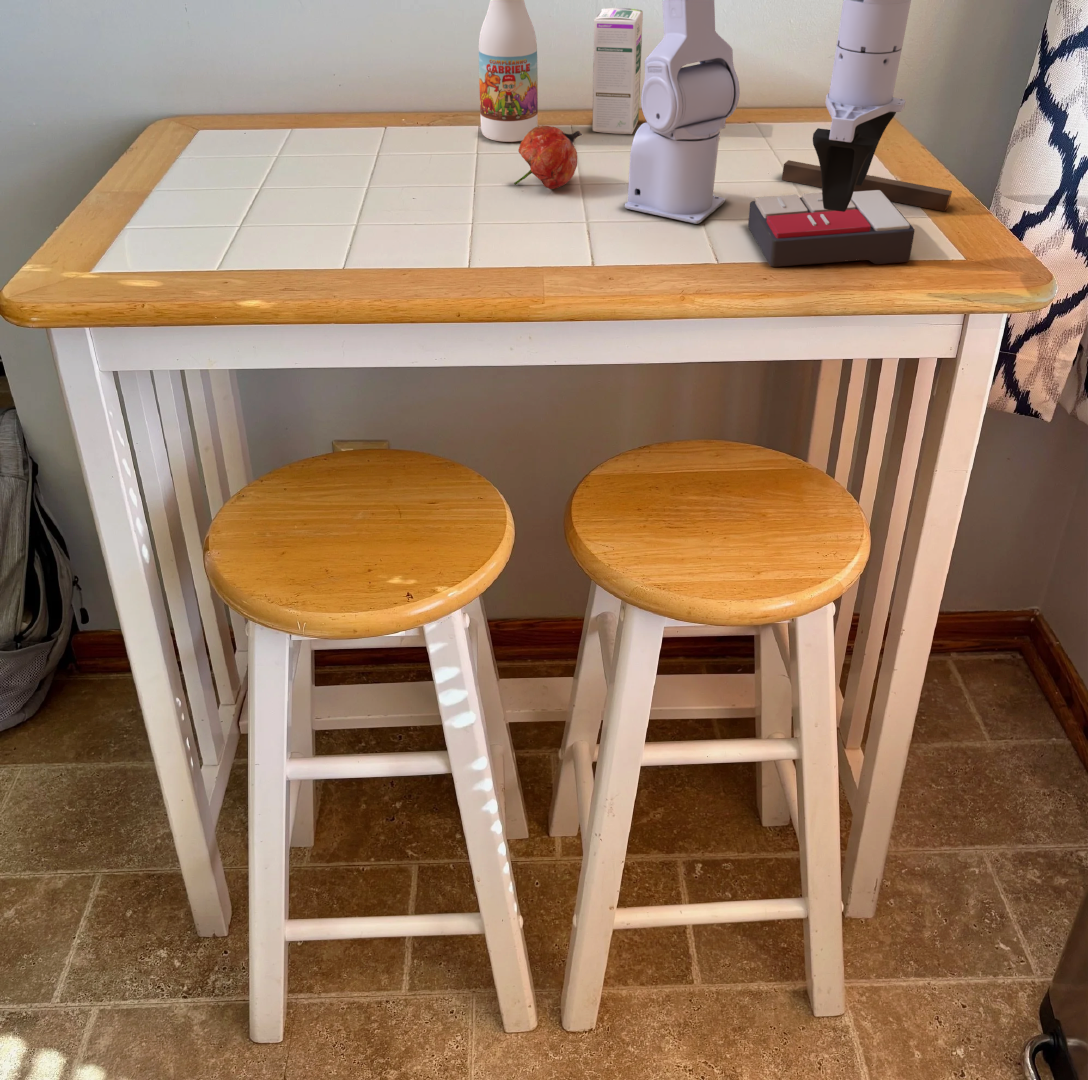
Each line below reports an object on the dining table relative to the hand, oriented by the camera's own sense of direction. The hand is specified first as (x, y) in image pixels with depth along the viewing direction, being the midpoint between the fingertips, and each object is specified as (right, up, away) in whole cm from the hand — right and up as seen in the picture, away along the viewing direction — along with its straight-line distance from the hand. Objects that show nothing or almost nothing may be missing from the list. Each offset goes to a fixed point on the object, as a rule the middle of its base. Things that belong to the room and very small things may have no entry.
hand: (843, 196), depth 102 cm
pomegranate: (-29, +9, +26) cm, 40 cm away
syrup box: (-19, +23, +43) cm, 53 cm away
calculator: (+1, -1, +12) cm, 12 cm away
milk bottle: (-34, +22, +40) cm, 57 cm away
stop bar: (+9, +8, +24) cm, 27 cm away
